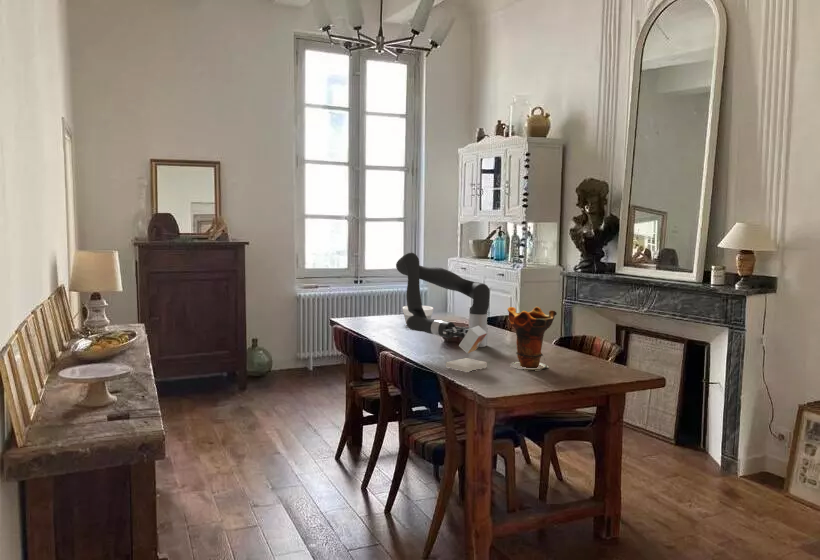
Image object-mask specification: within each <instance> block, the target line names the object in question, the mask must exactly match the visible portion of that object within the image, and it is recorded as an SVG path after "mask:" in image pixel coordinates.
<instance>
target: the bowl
mask: <svg viewBox="0 0 820 560" xmlns="http://www.w3.org/2000/svg"><path fill="white" fill-rule="evenodd" d="M422 308H423V310H424V312H425V315H426V317H427V319H432V315H433V312H434V307H433V306H430V305H422ZM402 312H403V315H404V319H405V321H404V322H405V324H407V320H408V318H409V317H411V316H414V315H413V314H412V313H410V312H409V311H408V306H407V305H404V306H402Z"/></svg>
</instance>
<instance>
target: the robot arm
mask: <svg viewBox="0 0 820 560" xmlns="http://www.w3.org/2000/svg"><path fill="white" fill-rule="evenodd" d="M395 268H396V270H397V271H398V272H399V273H400V274H402V275H403V276H407V286H406V292H405V293H406V304H407V305H406V306H408V311H409V312H410V313H412V314H413V315H414V316H411V317H409V318H408V320H407V325H406V326H407V328H408V329H409V330H411V331H417V332H422V333H423V332H424V333H426V334H430V335H433V336H437V337H442V338H446V339H451V338H457V337H458V338H461V339H463V338H464V337H465V335H466V334H467V332H468V331H469V329H470V328H473V327H476V326H480V327H481V328H482V329H483V330H484V331H485V332H486V333H487V334H486V336H485V337H484V339H483V340H482V342H481V343H480V345H479V346H478V347H477V348H485V347H486V346H488V334H489V333H488V321H487V320H488V310H489V307H490V296H491V295H490V293H491V292H490V288H489V286H488V285H487V284H485V283H481V282H477V281H472V280H469V279H466V278H463V277H461V276H460V275H458V274H456V273H455V272H453V271H452V270H448V269H445V268H443V267H439V266H422V265H420V259H419V257H418V255H417V254H416V253H414V252H413V251H412V252H407V253H405V254H404V255H403V256H402V257H401V256H400V258H399V259H398V260H397V261H396V263H395ZM420 280H421V281H425V282H427V283H430V284H433V285H435V286H438V287H440V288H442V289H445V290H449V291H454V292H459V293H461V294H462V295H465V296H467V297H469V298H471V299H472V305H471V306H470V307H469V317H468V321H469V322H468V326H457V325H455V323H454V322H453V321H447V320H441V319H435V318H431V319H427V317H426V315H425V312H424V310H423V308H422V306H423V304H422V303H423V302H422V297H421V289H420V285H421V284H420Z"/></svg>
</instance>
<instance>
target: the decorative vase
mask: <svg viewBox="0 0 820 560" xmlns="http://www.w3.org/2000/svg"><path fill="white" fill-rule="evenodd" d="M507 312H508V319H509V323H510V324H511V326H512V327H513V329H514V330H515V332H516V333H515V336H516V341H515V342H516V356H517V359H518V361H514V362H515V363H514V362H512V363H513V364H516V363H520V366H522V367H526V368H537V367H538V366H539V365H541V366H543V367H542V368H540V369H524V370H523V371H528V370H535V371H541V370H544V369H548V368H549V366H548V365H547V364H545V363H546V362H545V361H546V360H545V358H543V360H544V362H545V363H542V362H541V358H542V357H544V355H543V353H542V349H543V348H542V347H543V342H544V336H545V332H546V331H547V330H548V329H549V328H550V327H551V326H552V325H553V321H554V319H555V316H556V315H557V313H558V312H557V311H556V310H553V309H552V310H549V311H548V314H545V313H544V311H543V310H542V309H541V307H539V306H535V307H533V309H531V311H526V310H522V311H521V312H517V308H516V307H514V306H509V307H508V308H507ZM513 364H512V365H513ZM546 365H547V366H546ZM517 368H518V367H517ZM535 371H534V372H535Z"/></svg>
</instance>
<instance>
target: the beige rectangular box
mask: <svg viewBox="0 0 820 560" xmlns="http://www.w3.org/2000/svg"><path fill="white" fill-rule="evenodd" d="M445 365H446V366H445V368H446V367H450V368H453V369H458V370H462V371H466V372H468V371H472V370H476V369H480V370H483V369H482V368H484V369H486V367H487V365H488V363H487V361H484V360H483V361H482V360H477V359H473V358H469V357H465V358H464V357H463V358H460V359H459V358H458V359H454V360H451V361H446V364H445ZM487 368H488V367H487ZM453 369H452V370H453ZM476 371H477V370H476ZM466 372H465V373H466ZM472 372H473V371H472ZM468 373H469V372H468Z"/></svg>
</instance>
